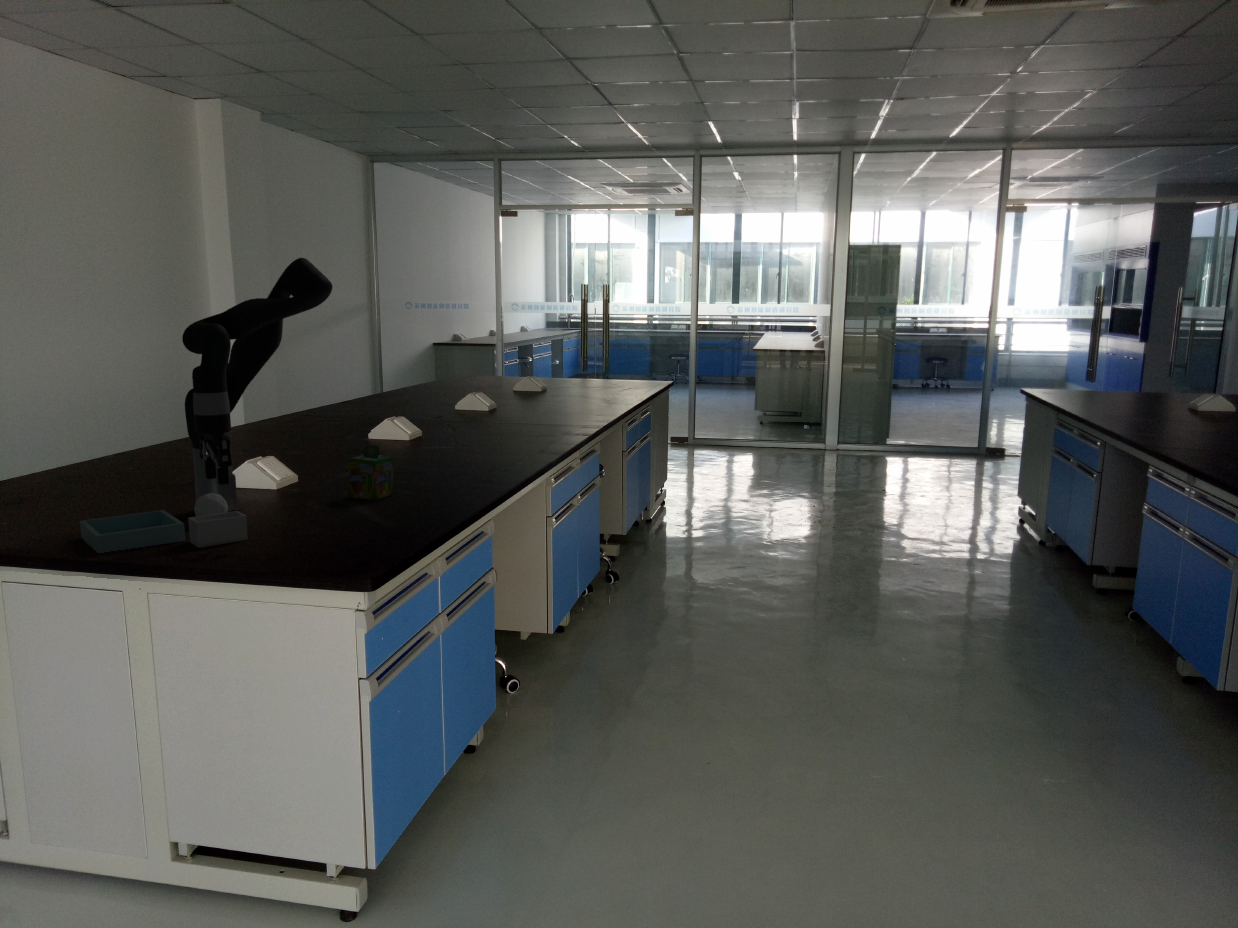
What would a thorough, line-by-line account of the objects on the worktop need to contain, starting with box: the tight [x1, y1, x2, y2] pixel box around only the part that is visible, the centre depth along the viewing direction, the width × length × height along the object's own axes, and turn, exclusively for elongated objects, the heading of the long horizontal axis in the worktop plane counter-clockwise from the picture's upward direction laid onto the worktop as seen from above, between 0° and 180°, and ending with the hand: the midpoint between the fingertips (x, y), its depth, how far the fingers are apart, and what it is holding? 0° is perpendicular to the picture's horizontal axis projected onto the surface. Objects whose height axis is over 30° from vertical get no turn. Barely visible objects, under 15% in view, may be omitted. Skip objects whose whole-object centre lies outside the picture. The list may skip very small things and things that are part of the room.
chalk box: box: [347, 444, 394, 502], centre depth 254 cm, size 9×9×15 cm
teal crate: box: [79, 509, 186, 554], centre depth 207 cm, size 18×17×4 cm
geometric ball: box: [193, 493, 228, 517], centre depth 223 cm, size 8×8×8 cm
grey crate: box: [188, 510, 249, 548], centre depth 207 cm, size 11×6×6 cm, turn 132°
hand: (217, 481), depth 205 cm, fingers open, 8 cm apart
